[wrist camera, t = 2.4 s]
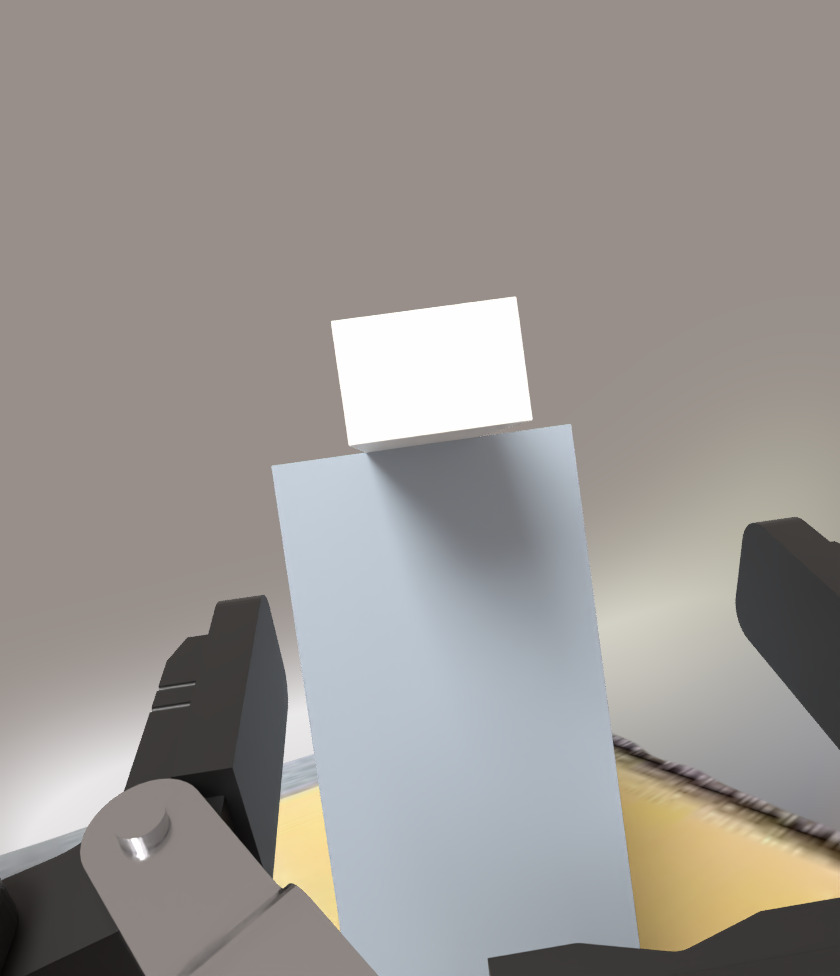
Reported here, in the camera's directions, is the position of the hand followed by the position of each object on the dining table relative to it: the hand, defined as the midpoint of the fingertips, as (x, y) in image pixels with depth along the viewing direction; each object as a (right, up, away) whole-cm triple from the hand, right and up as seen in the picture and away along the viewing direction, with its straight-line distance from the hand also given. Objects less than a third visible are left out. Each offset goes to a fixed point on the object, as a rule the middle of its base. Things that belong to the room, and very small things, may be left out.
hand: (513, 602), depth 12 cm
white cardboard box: (-2, +4, +18) cm, 19 cm away
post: (+3, -28, +26) cm, 38 cm away
